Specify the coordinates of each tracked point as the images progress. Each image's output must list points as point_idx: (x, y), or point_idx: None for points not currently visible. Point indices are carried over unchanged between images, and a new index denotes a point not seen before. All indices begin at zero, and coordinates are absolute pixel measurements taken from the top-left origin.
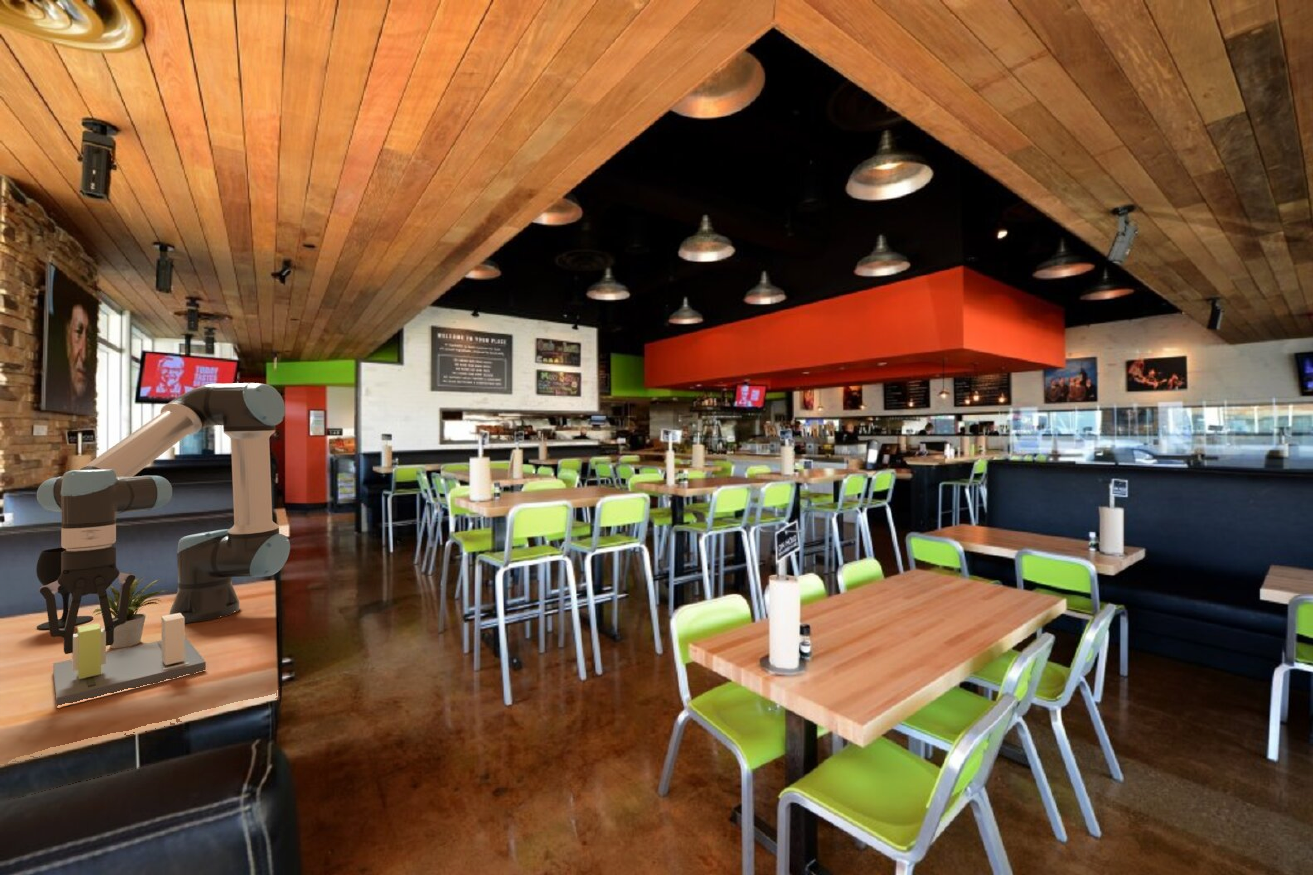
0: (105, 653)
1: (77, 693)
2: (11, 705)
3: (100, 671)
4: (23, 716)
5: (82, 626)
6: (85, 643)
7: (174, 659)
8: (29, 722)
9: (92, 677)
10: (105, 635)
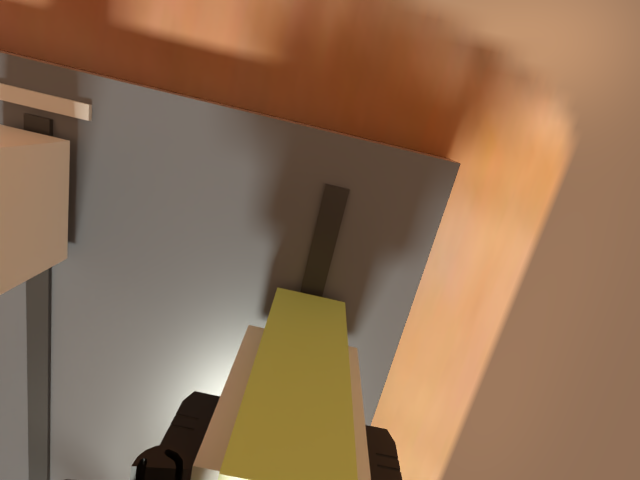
0: (238, 354)
1: (397, 148)
2: (491, 346)
3: (277, 293)
4: (523, 192)
5: None
6: (320, 411)
7: (18, 131)
8: (545, 97)
9: (303, 291)
10: (206, 438)
